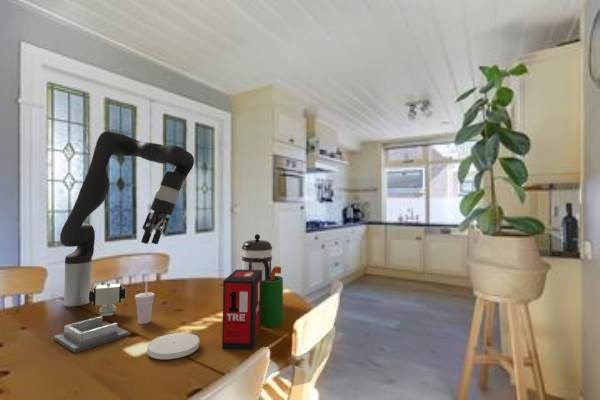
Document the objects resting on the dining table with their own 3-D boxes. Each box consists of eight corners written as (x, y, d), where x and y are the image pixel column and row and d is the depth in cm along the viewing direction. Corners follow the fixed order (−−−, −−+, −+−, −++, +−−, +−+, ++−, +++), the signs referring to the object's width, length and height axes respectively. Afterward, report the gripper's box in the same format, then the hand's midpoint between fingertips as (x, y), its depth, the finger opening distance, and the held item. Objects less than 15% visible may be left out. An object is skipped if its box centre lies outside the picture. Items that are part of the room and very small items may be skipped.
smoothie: (158, 320, 116) (158, 281, 116) (142, 326, 110) (143, 285, 110) (145, 317, 119) (146, 279, 119) (130, 323, 113) (130, 283, 113)
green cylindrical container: (258, 317, 121) (259, 264, 121) (282, 316, 122) (283, 263, 122) (257, 327, 111) (258, 269, 111) (283, 326, 112) (284, 269, 112)
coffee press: (229, 309, 129) (230, 235, 129) (250, 299, 144) (251, 232, 144) (267, 315, 122) (268, 237, 123) (285, 304, 137) (286, 234, 138)
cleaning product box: (252, 350, 94) (253, 281, 94) (222, 349, 94) (223, 280, 94) (261, 328, 110) (262, 270, 110) (235, 327, 110) (236, 269, 111)
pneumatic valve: (124, 314, 121) (125, 283, 122) (88, 319, 116) (89, 286, 117) (125, 310, 126) (126, 279, 127) (90, 314, 121) (91, 282, 122)
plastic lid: (146, 367, 84) (146, 357, 84) (148, 345, 96) (148, 336, 96) (201, 357, 89) (202, 348, 89) (196, 338, 102) (196, 330, 102)
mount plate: (53, 339, 99) (54, 326, 99) (105, 325, 111) (106, 313, 111) (74, 353, 90) (75, 338, 90) (128, 335, 102) (128, 322, 102)
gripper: (162, 200, 123) (147, 241, 121) (147, 193, 109) (129, 239, 107) (181, 205, 123) (166, 246, 121) (168, 200, 109) (151, 246, 107)
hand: (149, 243), depth 114 cm, fingers open, 8 cm apart
